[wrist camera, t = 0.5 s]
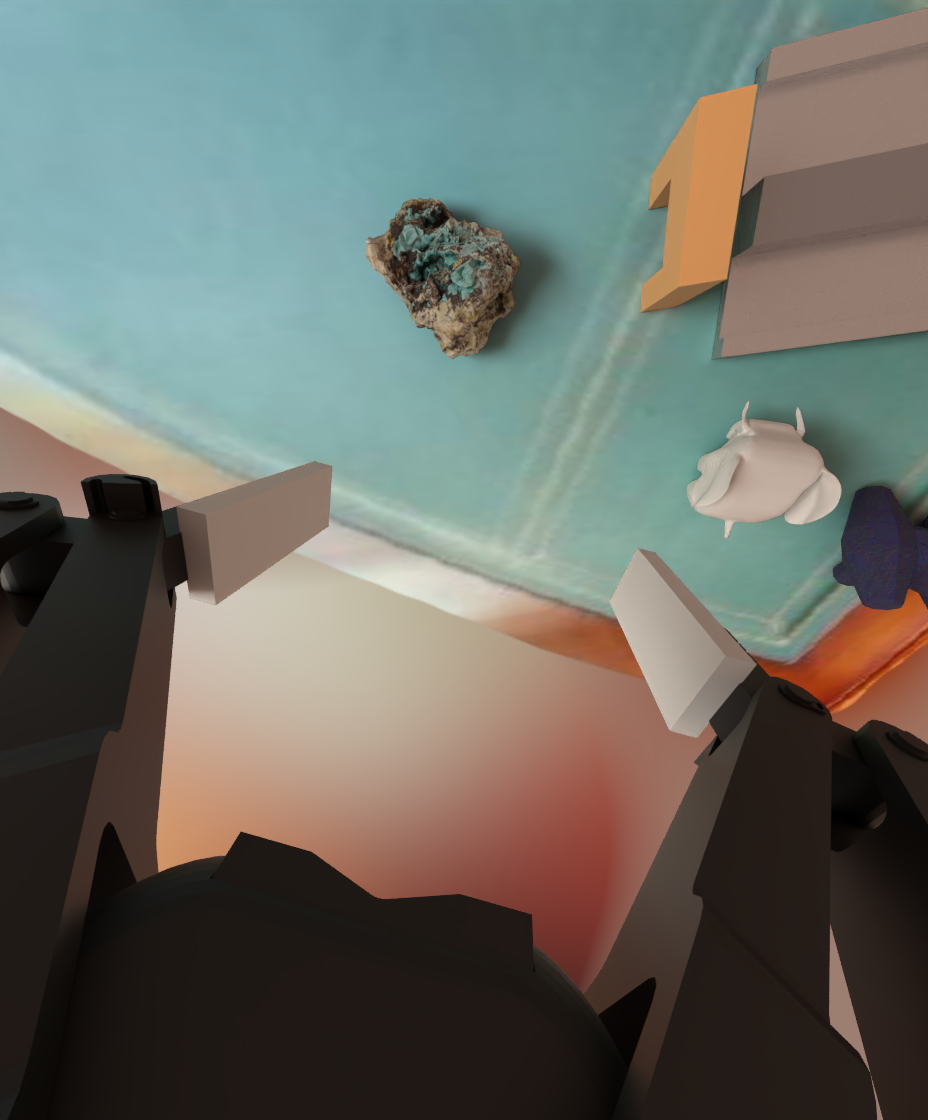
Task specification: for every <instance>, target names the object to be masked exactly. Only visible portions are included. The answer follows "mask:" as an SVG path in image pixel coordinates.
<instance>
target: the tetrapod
mask: <svg viewBox="0 0 928 1120" xmlns="http://www.w3.org/2000/svg"><path fill="white" fill-rule="evenodd" d="M841 548H842V560H843V563H841V564H839V565H837V566H836V567H834V568H833V576H834V577H835V579H836V580H837V581H838V583H841V584H843V585H846V586H854V587H855V589H856V591H857V593H858V596H859V598H860V600H861V602H862V604H863V605H864V606H866V607H869V608H872V609H882V610H891V609H898V608H901V607H902V605H903V604H904V601H905V598H906V594H907V591H908V588H909V589H911V590H913V591H916V592H918V593H919V594H920V596H921V598H922V600H923V602H924V603H925V605H926V607H927V609H928V517H926V519H925V521H924V523H923V527H920V526H916V525H913V524H912V523H911V522H910V520H909V519H908V517H907V515H906V514H905V512H904V510H903V509H902V507H901V506H900V504H899V502H898V501H897V499H896V498H895V496H894V494H893V493H892V491H891V489H888V488H885V487H882V486H874V487H866V488H864V489H861V490H859V491H857V492H856V494H855V497H854V500H853V503H852V507H851V510H850V513H849V516H848V520H847V523H846V526H845V529H844V533H843V536H842V539H841Z"/></svg>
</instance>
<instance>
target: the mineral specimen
mask: <svg viewBox="0 0 928 1120" xmlns="http://www.w3.org/2000/svg"><path fill="white" fill-rule="evenodd" d="M366 241H367V248H366V257H367V258H368V260H369V262H370V263H371V265H372V267H373V268H374V269H375V270H376V271H377V272H378V273H379V274H380V275H382V276H383V277H384V279H385V281H386V282H387V283H388V284H389V285H390V286H391V287H392V289H393V290H394V291H395V292H396V293H397V294H398V295H399V296H400V297H401V298H402V300H403V302H404V303H405V304H406V305H407V307H408V309H409V311H410V313H411V318H412V319H413V320H414V321H415V324H416V326H417V327H418V328H423V327H425V326H426V327H427V328H428V329H432V330H433V331H434V334H435V338H436V340H437V341H438V343H439V344H440V347H441V349H442V352H444V353H446V354H447V356H448V357H451V358H452V359H454V358H456V357H457V356H459V355H461V356H467V355H470V354H478V352H479V351H480V349H481V348H482V347H484V346H485V344H486V342H487V339H488V335H489V332H490V330H491V327H492V325H493V324H494V323H495V322H496V320H497V319H499V318H500V317H501V318H504V317H505V316H506V315H507V314H508V313H509V312H510V311H511V310H512V309H513V308H514V307H515V303H516V301H515V299H514V296H513V293H512V280H513V278H514V275H515V274H516V272H517V270H518V268H519V267H520V262H519V260H518V258H517V256H515V255H514V254H513V252H512V250H511V248H510V246H509V245H508V244H507V242H506V241H505V240H504V239H503V235H502V232H500V231H498V230H496V229H491V228H486V227H484V228H481V227H480V225H479V224H477V223H476V222H472V223H470V222H468V221H466V220H463V221H462V222H458V221H456V220H455V218H454V216H453V214H452V212H450V211H448V209H447V208H446V206H445V204H443V203H442V202H441V201H440V200H437V201H435V200H433V199H431V198H429V200H427V199H421V198H419V199H418V200H415V199H410V200H408V201H406V202H404V203H403V205H402V207H401V209H400V211H399V212H397V213H396V216H395V219H392V220H390V226H389V229H388V230H387V232H386V233H385V234H384V235H382V236H378V237H376V238H374V239H373V238H371V237H368V239H367V240H366Z"/></svg>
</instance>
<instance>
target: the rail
mask: <svg viewBox="0 0 928 1120" xmlns="http://www.w3.org/2000/svg"><path fill="white" fill-rule="evenodd" d="M754 84H758V85H757V91H756V98H755V104H754V110H753V117H752V123H751V129H750V136H749V142H748V148H747V155H746V161H745V167H744V174H743V180H742V186H741V193H740V199H739V205H738V211H737V218H736V224H735V230H734V237H733V243H732V249H731V256H730V262H729V268H728V275H727V279H726V280H724V282H723V289H722V295H721V302H720V308H719V315H718V321H717V327H716V334H715V340H714V347H713V353H712V359H718V358H725V357H733V356H740V355H748V354H756V353H763V352H771V351H778V350H786V349H794V348H801V347H809V346H817V345H824V344H832V343H839V342H847V341H855V340H862V339H870V338H878V337H885V336H893V335H900V334H908V333H916V332H923V331H928V8H925V9H921V10H918V11H914V12H910V13H906V14H902V15H898V16H894V17H891V18H887V19H883V20H879V21H875V22H871V23H867V24H863V25H860V26H856V27H852V28H848V29H844V30H840V31H836V32H832V33H829V34H825V35H821V36H817V37H813V38H809V39H805V40H802V41H798V42H794V43H790V44H786V45H782V46H778V47H774V48H772V49H771V50H770V51H769V53H768V54H767V55H766V57H765V58H764V59H763V61H762V62H761V64H760V65H759V66H758V68H757V70H756V77H755V83H754Z"/></svg>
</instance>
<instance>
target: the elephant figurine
mask: <svg viewBox="0 0 928 1120" xmlns="http://www.w3.org/2000/svg"><path fill="white" fill-rule="evenodd" d="M748 406H749V401H747V403H746V406H745V408H744V410H743V412H742V420H740V421H738V422H736V423H735V424H734V425H733V426H732V427H731V429H730V430H729V432H728V434H727V438H728V439H729V441H728V442H727V443H726V444H725V445H724V446H722V447H721V448H720V449H718V450H715V451H713V452H711V453H707V454H705V455H703V456H702V457H701V458H700V459H699V462H698V470H699V471H700V472H702V475H701V477H700V478H699V479H698V480H694V481H692V482H691V483H690V484H689V485H688V487H687V496H688V499H689V502H690V504H691V506H692V507H693V508H694V509H695V510H696V511H697V512H699V513H701V514H703V515H707V516H711V517H715V518H720V519H723V520H725V535H724V537H725V538H728V537H729V536H728V535H729V533H730V532H731V530H732V527H733V525H734V523H735V522H749V523H756V522H762V521H765V520H769V519H772V518H775V517H778V516H780V515H782V514H783V513H785V515H784V518H785V520H786V521H787V522H789V523H792V524H805V523H811V522H814V521H816V520H818V519H820V518H822V517H824V516H826V515H827V514H829V513H830V512H831V511H832V510H833V509H834V508H835V507H836V506H837V504H838V502H839V500H840V496H841V485H840V482H839V480H838V479H837V478H836V477H835V475H833V474H832V473H831V472H829V471H828V470H827V469H826V468H825V466H824V462H823V459H822V457H821V454H820V453H819V451H818V450H817V449H815V448H814V447H812V446H810V445H808V444H806V443H805V442H803V440H802V437H803V436H804V433H805V427H804V423H803V419H802V415H801V412H800V410H799V408H798V407H797V410H796V418H797V430H795V429H794V427H793V426H792V425H789V424H786V423H781V422H774V421H767V420H759V419H746V413H747V410H748Z"/></svg>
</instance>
